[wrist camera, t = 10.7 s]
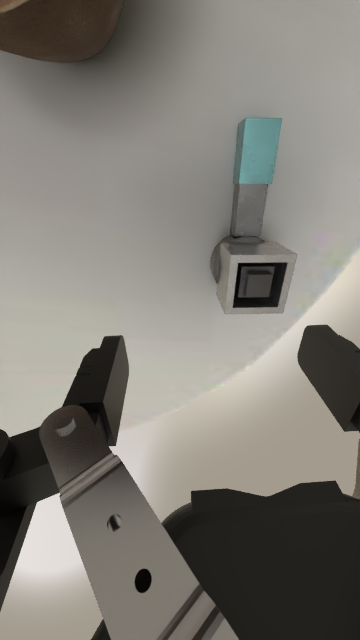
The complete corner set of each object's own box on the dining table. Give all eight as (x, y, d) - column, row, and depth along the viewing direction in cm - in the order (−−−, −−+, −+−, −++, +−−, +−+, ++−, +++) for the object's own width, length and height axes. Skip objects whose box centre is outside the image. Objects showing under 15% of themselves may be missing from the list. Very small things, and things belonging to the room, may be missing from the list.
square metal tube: (220, 242, 26) (231, 255, 22) (276, 242, 26) (297, 254, 22) (216, 294, 29) (224, 314, 25) (266, 293, 29) (283, 313, 25)
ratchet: (219, 123, 23) (239, 100, 17) (290, 124, 24) (340, 101, 17) (208, 288, 32) (219, 318, 25) (261, 287, 32) (287, 317, 25)
